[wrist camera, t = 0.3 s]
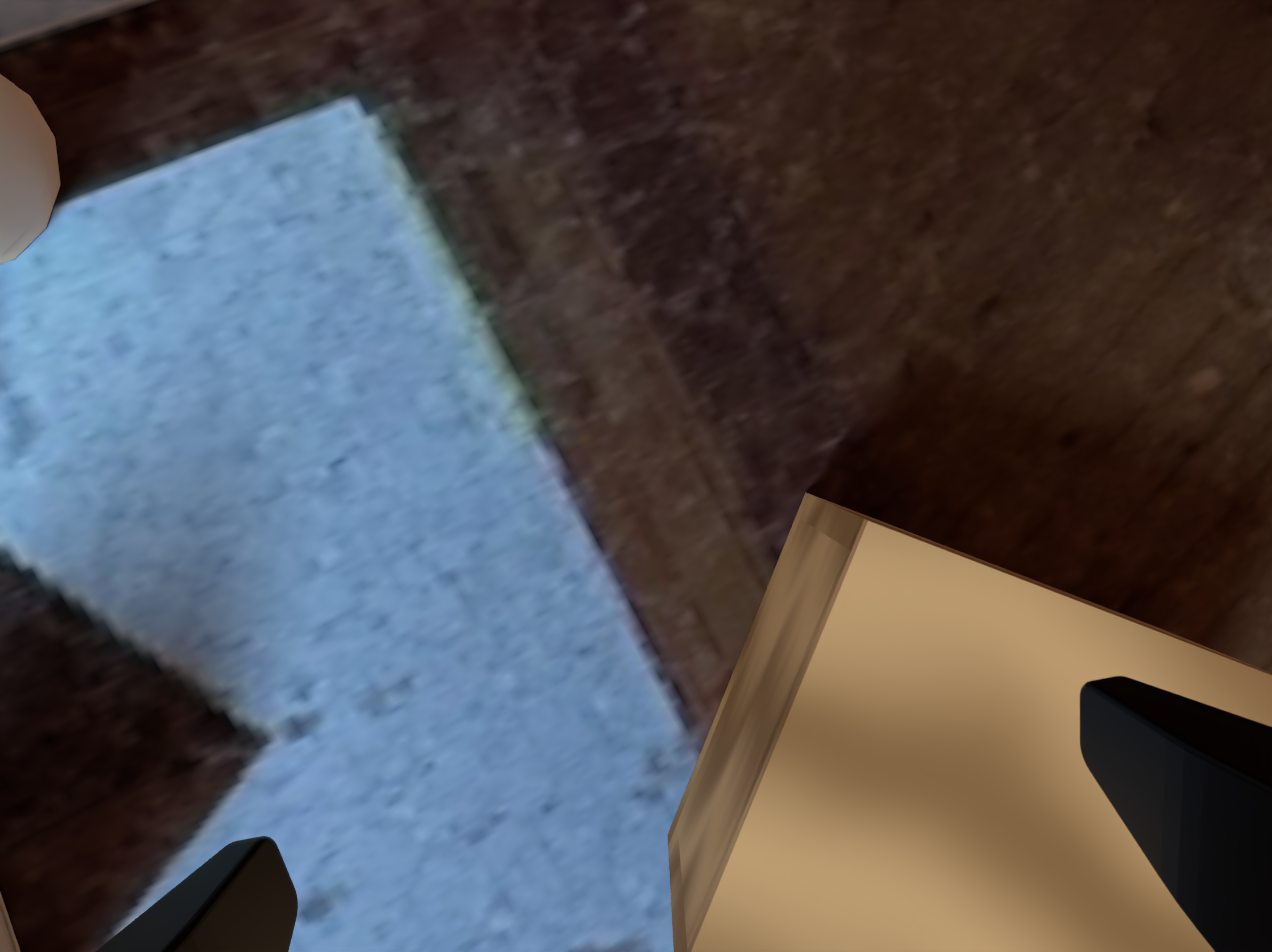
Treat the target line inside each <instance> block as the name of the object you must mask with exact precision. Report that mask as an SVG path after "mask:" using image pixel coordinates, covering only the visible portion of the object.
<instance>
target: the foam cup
mask: <svg viewBox="0 0 1272 952" xmlns="http://www.w3.org/2000/svg"><path fill="white" fill-rule="evenodd" d="M60 185H61V184H60V176H59V167H58V158H57V150H56V141H55V137H54V135H53V133H52V132H51V130H50V128H49V127H48V125H47V123H46V122H45V120H44V118H43V116H42V115H41V113H40V111H39V110H38V108H37V106H36V105H35V103H34V101H33V100H32V98H31V96H30V95H28V94H27V93H25V92H24V91H22V90H21V89H20V88H18V87H17V86H15V84H14V83H12V82H11V81H9V80H8V79H6V78H5V77H4V76H2V75H1V74H0V264H2V263H5V262H8V261H12V260H14V259H16V258H17V257H18V256H19V255H20V254H21V253H22V252H23V251H24V250H25V249H26V248H27V247H28V246H29V245H30V244H31V243H32V242H33V241H34V240H35V239H36V238H37V237H38V236H39V235H40V234H41V233H42V232H43V231H44V230H45V229H46V227H47V224H48V221H49V218H50V215H51V212H52V209H53V206H54V203H55V200H56V197H57V194H58V191H59V188H60Z"/></svg>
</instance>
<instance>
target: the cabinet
mask: <svg viewBox="0 0 1272 952" xmlns="http://www.w3.org/2000/svg"><path fill="white" fill-rule="evenodd" d="M1114 676H1125V677H1129V678H1131V679H1134V680H1137V681H1140V682H1143V683H1146V684H1149V685H1152V686H1155V687H1158V688H1160V689H1163V690H1166V691H1169V692H1172V693H1175V694H1178V695H1181V696H1184V697H1187V698H1189V699H1192V700H1195V701H1198V702H1201V703H1204V704H1207V705H1210V706H1213V707H1216V708H1218V709H1221V710H1224V711H1227V712H1230V713H1233V714H1236V715H1239V716H1242V717H1245V718H1247V719H1250V720H1253V721H1256V722H1259V723H1262V724H1265V725H1268V726H1271V727H1272V673H1269V672H1267V671H1265V670H1262V669H1260V668H1257V667H1255V666H1252V665H1250V664H1247V663H1245V662H1242V661H1240V660H1237V659H1235V658H1232V657H1230V656H1228V655H1225V654H1223V653H1220V652H1218V651H1215V650H1213V649H1210V648H1208V647H1205V646H1203V645H1200V644H1198V643H1195V642H1193V641H1190V640H1188V639H1186V638H1183V637H1181V636H1178V635H1176V634H1173V633H1171V632H1168V631H1166V630H1163V629H1161V628H1158V627H1156V626H1153V625H1151V624H1148V623H1145V622H1143V621H1140V620H1137V619H1135V618H1132V617H1130V616H1127V615H1124V614H1122V613H1119V612H1117V611H1114V610H1111V609H1109V608H1106V607H1104V606H1101V605H1098V604H1096V603H1093V602H1090V601H1088V600H1085V599H1083V598H1080V597H1077V596H1075V595H1072V594H1070V593H1067V592H1064V591H1062V590H1059V589H1057V588H1054V587H1051V586H1049V585H1046V584H1043V583H1041V582H1038V581H1036V580H1033V579H1030V578H1028V577H1025V576H1023V575H1020V574H1017V573H1015V572H1012V571H1010V570H1007V569H1004V568H1002V567H999V566H997V565H994V564H991V563H989V562H986V561H983V560H981V559H978V558H976V557H973V556H970V555H968V554H965V553H963V552H960V551H957V550H955V549H952V548H950V547H947V546H944V545H942V544H939V543H936V542H934V541H931V540H929V539H926V538H923V537H921V536H918V535H916V534H913V533H910V532H908V531H905V530H903V529H900V528H897V527H895V526H892V525H889V524H887V523H884V522H882V521H879V520H876V519H874V518H871V517H869V516H866V515H863V514H861V513H858V512H856V511H853V510H850V509H848V508H845V507H842V506H840V505H837V504H835V503H832V502H829V501H827V500H824V499H822V498H819V497H816V496H814V495H811V494H809V493H805V495H804V498H803V500H802V503H801V505H800V508H799V510H798V513H797V515H796V518H795V520H794V522H793V525H792V527H791V530H790V532H789V535H788V537H787V540H786V542H785V545H784V547H783V550H782V552H781V555H780V557H779V560H778V562H777V565H776V567H775V570H774V572H773V575H772V577H771V580H770V582H769V585H768V587H767V590H766V592H765V594H764V597H763V599H762V602H761V604H760V607H759V609H758V612H757V614H756V617H755V619H754V622H753V624H752V627H751V629H750V632H749V634H748V637H747V639H746V642H745V644H744V647H743V649H742V652H741V654H740V657H739V659H738V662H737V664H736V666H735V669H734V671H733V674H732V676H731V679H730V681H729V684H728V686H727V689H726V691H725V694H724V696H723V699H722V701H721V704H720V706H719V709H718V711H717V714H716V716H715V719H714V721H713V724H712V726H711V729H710V731H709V734H708V736H707V738H706V741H705V743H704V746H703V748H702V751H701V753H700V756H699V758H698V761H697V763H696V766H695V768H694V771H693V773H692V776H691V778H690V781H689V783H688V786H687V788H686V791H685V793H684V796H683V798H682V801H681V803H680V806H679V808H678V811H677V813H676V815H675V818H674V820H673V823H672V825H671V828H670V830H669V833H668V850H669V869H670V888H671V906H672V925H673V944H674V952H1215V951H1214V950H1213V949H1212V947H1211V946H1210V945H1209V944H1208V942H1207V941H1206V940H1205V939H1204V937H1203V936H1202V935H1201V934H1200V932H1199V931H1198V930H1197V929H1196V927H1195V926H1194V925H1193V923H1192V922H1191V921H1190V919H1189V918H1188V917H1187V915H1186V914H1185V913H1184V912H1183V910H1182V909H1181V908H1180V906H1179V905H1178V904H1177V902H1176V901H1175V899H1174V898H1173V897H1172V895H1171V894H1170V892H1169V891H1168V889H1167V888H1166V886H1165V885H1164V884H1163V882H1162V881H1161V879H1160V878H1159V876H1158V875H1157V873H1156V872H1155V870H1154V869H1153V867H1152V866H1151V864H1150V862H1149V861H1148V859H1147V858H1146V856H1145V855H1144V853H1143V852H1142V850H1141V849H1140V847H1139V846H1138V844H1137V843H1136V841H1135V840H1134V838H1133V837H1132V835H1131V833H1130V832H1129V830H1128V829H1127V827H1126V826H1125V824H1124V823H1123V821H1122V820H1121V818H1120V817H1119V815H1118V814H1117V812H1116V811H1115V809H1114V808H1113V806H1112V804H1111V803H1110V801H1109V800H1108V798H1107V797H1106V795H1105V794H1104V792H1103V791H1102V789H1101V788H1100V786H1099V785H1098V783H1097V782H1096V780H1095V779H1094V777H1093V775H1092V774H1091V772H1090V771H1089V769H1088V767H1087V766H1086V763H1085V761H1084V759H1083V756H1082V753H1081V748H1080V691H1081V688H1082V686H1083V685H1084V684H1085V683H1087V682H1089V681H1093V680H1098V679H1103V678H1109V677H1114Z"/></svg>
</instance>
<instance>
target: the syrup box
mask: <svg viewBox="0 0 1272 952" xmlns="http://www.w3.org/2000/svg"><path fill="white" fill-rule="evenodd" d="M0 952H20V948H19V945H18V942H17V940H16V937H15V934H14V931H13V928H12V925H11V922H10V919H9V916H8V913H7V910H6V907H5V905H4V902H3V899H2V895H1V892H0Z"/></svg>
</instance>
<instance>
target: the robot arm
mask: <svg viewBox="0 0 1272 952" xmlns="http://www.w3.org/2000/svg"><path fill="white" fill-rule="evenodd" d="M1080 748H1081V753H1082V756H1083V759H1084V761H1085V763H1086V766H1087V767H1088V769H1089V771H1090V772H1091V774H1092V775H1093V777H1094V779H1095V780H1096V782H1097V783H1098V785H1099V786H1100V788H1101V789H1102V791H1103V792H1104V794H1105V795H1106V797H1107V798H1108V800H1109V801H1110V803H1111V804H1112V806H1113V808H1114V809H1115V811H1116V812H1117V814H1118V815H1119V817H1120V818H1121V820H1122V821H1123V823H1124V824H1125V826H1126V827H1127V829H1128V830H1129V832H1130V833H1131V835H1132V837H1133V838H1134V840H1135V841H1136V843H1137V844H1138V846H1139V847H1140V849H1141V850H1142V852H1143V853H1144V855H1145V856H1146V858H1147V859H1148V861H1149V862H1150V864H1151V866H1152V867H1153V869H1154V870H1155V872H1156V873H1157V875H1158V876H1159V878H1160V879H1161V881H1162V882H1163V884H1164V885H1165V886H1166V888H1167V889H1168V891H1169V892H1170V894H1171V895H1172V897H1173V898H1174V899H1175V901H1176V902H1177V904H1178V905H1179V906H1180V908H1181V909H1182V910H1183V912H1184V913H1185V914H1186V915H1187V917H1188V918H1189V919H1190V921H1191V922H1192V923H1193V925H1194V926H1195V927H1196V929H1197V930H1198V931H1199V932H1200V934H1201V935H1202V936H1203V937H1204V939H1205V940H1206V941H1207V942H1208V944H1209V945H1210V946H1211V947H1212V949H1213V950H1214V951H1215V952H1272V727H1271V726H1268V725H1265V724H1262V723H1259V722H1256V721H1253V720H1250V719H1247V718H1245V717H1242V716H1239V715H1236V714H1233V713H1230V712H1227V711H1224V710H1221V709H1218V708H1216V707H1213V706H1210V705H1207V704H1204V703H1201V702H1198V701H1195V700H1192V699H1189V698H1187V697H1184V696H1181V695H1178V694H1175V693H1172V692H1169V691H1166V690H1163V689H1160V688H1158V687H1155V686H1152V685H1149V684H1146V683H1143V682H1140V681H1137V680H1134V679H1131V678H1129V677H1125V676H1114V677H1109V678H1103V679H1098V680H1093V681H1089V682H1087V683H1085V684H1084V685H1083V686H1082V688H1081V691H1080ZM297 909H298V901H297V894H296V891H295V888H294V885H293V883H292V880H291V878H290V875H289V873H288V871H287V868H286V866H285V863H284V861H283V858H282V856H281V854H280V851H279V849H278V846H277V845H276V843H275V841H274V840H273V839H271V838H270V837H266V836H261V837H256V838H250V839H245V840H240V841H235V842H232V843H230V844H228V845H227V846H225V847H224V848H223V849H222V850H220V851H219V852H218V853H217V854H215V855H214V856H213V857H212V858H210V859H209V860H208V861H207V862H206V863H204V864H203V865H202V866H201V867H199V868H198V869H197V870H196V871H194V872H193V873H192V874H191V875H189V876H188V877H187V878H186V879H185V880H183V881H182V882H181V883H180V884H178V885H177V886H176V887H175V888H173V889H172V890H171V891H170V892H169V893H167V894H166V895H165V896H164V897H162V898H161V899H160V900H159V901H157V902H156V903H155V904H154V905H152V906H151V907H150V908H149V909H148V910H146V911H145V912H144V913H143V914H141V915H140V916H139V917H138V918H136V919H135V920H134V921H133V922H132V923H130V924H129V925H128V926H127V927H125V928H124V929H123V930H122V931H120V932H119V933H118V934H117V935H116V936H114V937H113V938H112V939H111V940H109V941H108V942H107V943H106V944H104V945H103V946H102V947H101V948H99V949H98V950H97V951H96V952H288V950H289V946H290V942H291V938H292V934H293V930H294V926H295V922H296V917H297Z"/></svg>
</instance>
